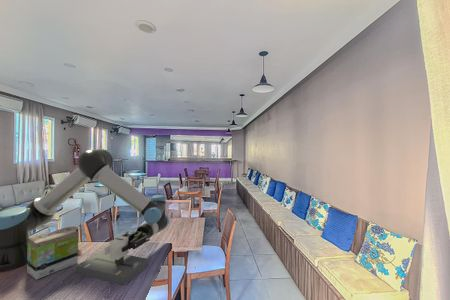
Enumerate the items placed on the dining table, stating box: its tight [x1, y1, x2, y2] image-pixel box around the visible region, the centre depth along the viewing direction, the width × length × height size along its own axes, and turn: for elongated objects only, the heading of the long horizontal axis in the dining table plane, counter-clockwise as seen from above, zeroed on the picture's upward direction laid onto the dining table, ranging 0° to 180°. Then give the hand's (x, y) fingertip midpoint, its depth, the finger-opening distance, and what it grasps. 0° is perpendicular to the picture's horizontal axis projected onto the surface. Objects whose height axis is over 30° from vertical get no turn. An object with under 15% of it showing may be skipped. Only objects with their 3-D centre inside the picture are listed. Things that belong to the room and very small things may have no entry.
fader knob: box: [109, 235, 129, 265], centre depth 91 cm, size 4×6×10 cm, turn 163°
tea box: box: [26, 226, 79, 281], centre depth 93 cm, size 15×10×15 cm
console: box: [75, 249, 149, 286], centre depth 92 cm, size 25×14×3 cm, turn 73°
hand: (110, 252), depth 86 cm, fingers closed on fader knob, 4 cm apart
